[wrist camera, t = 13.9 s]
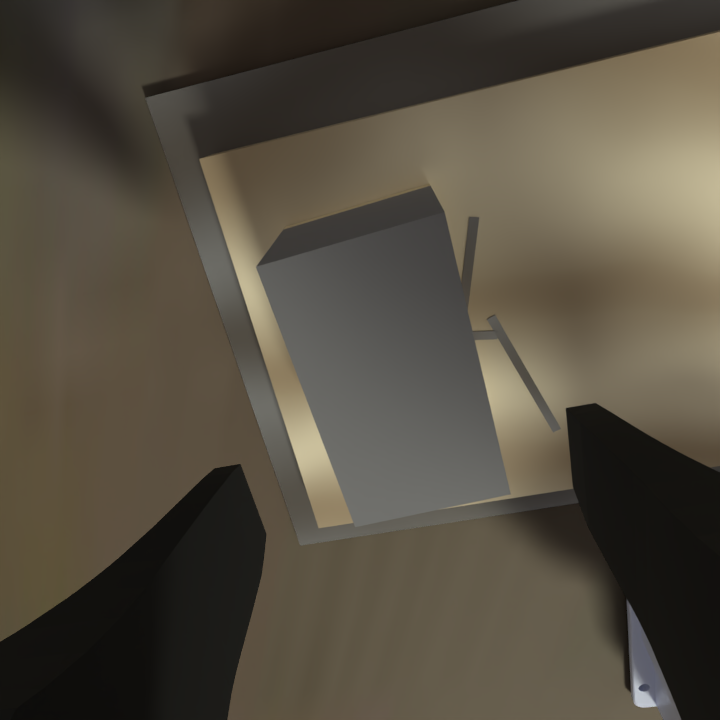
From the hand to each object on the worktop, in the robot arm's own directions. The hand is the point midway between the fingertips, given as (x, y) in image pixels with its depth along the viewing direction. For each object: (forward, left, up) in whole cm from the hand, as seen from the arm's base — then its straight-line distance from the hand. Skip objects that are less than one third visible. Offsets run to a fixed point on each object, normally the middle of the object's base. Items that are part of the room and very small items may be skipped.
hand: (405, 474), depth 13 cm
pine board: (0, -5, -9) cm, 11 cm away
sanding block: (+1, 0, -7) cm, 7 cm away
